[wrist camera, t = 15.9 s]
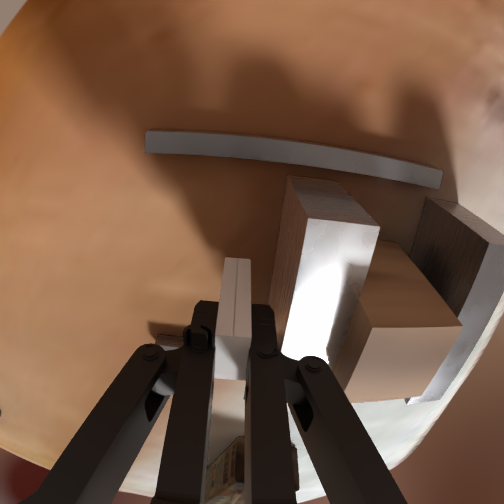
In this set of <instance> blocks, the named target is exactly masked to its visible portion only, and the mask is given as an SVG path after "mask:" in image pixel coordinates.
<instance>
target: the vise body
mask: <svg viewBox="0 0 504 504" xmlns="http://www.w3.org/2000/svg"><path fill="white" fill-rule="evenodd" d="M145 153H165V154H187V155H204V156H219V157H231V158H243V159H253V160H263V161H273V162H281V163H290V164H298V165H306V166H313V167H320V168H327V169H334V170H340V171H347V172H353V173H359V174H364V175H370V176H376V177H381V178H386V179H392V180H397V181H402V182H407V183H411V184H416V185H421V186H425V187H430V188H434V189H439V188H440V184H441V180H442V176H443V171H442V170H439V169H437V168H435V167H433V166H429V165H425V164H421V163H417V162H413V161H408V160H404V159H400V158H395V157H391V156H386V155H382V154H377V153H372V152H367V151H362V150H356V149H351V148H345V147H340V146H334V145H328V144H321V143H315V142H308V141H301V140H294V139H286V138H278V137H269V136H260V135H250V134H239V133H226V132H212V131H194V130H168V129H151V130H148V131H145ZM409 258H410V259H411V261H412V262H413V263H414V264H415V265H416V267H417V268H418V269H419V270H420V271H421V272H422V274H423V275H424V276H425V277H426V279H427V280H428V281H429V282H430V284H431V285H432V286H433V287H434V288H435V290H436V291H437V292H438V294H439V295H440V296H441V297H442V299H443V300H444V301H445V303H446V304H447V305H448V306H449V308H450V309H451V310H452V312H453V313H454V314H455V316H456V317H457V318H458V320H459V321H460V322H461V324H462V325H463V327H462V329H461V331H460V333H459V335H458V337H457V339H456V340H455V342H454V344H453V346H452V348H451V349H450V351H449V353H448V355H447V356H446V358H445V360H444V361H443V363H442V365H441V366H440V368H439V369H438V371H437V373H436V374H435V376H434V377H433V379H432V381H431V382H430V384H429V385H428V387H427V388H426V390H425V391H424V393H423V394H422V396H418V397H411V398H404V399H405V402H406V404H414V403H421V402H428V401H434V400H440V399H441V397H442V396H443V394H444V393H445V392H446V390H447V389H448V387H449V386H450V384H451V383H452V382H453V380H454V379H455V377H456V376H457V374H458V373H459V371H460V369H461V368H462V366H463V365H464V363H465V362H466V360H467V358H468V357H469V355H470V354H471V352H472V350H473V349H474V347H475V345H476V343H477V342H478V340H479V338H480V336H481V335H482V333H483V331H484V329H485V327H486V326H487V324H488V322H489V320H490V318H491V316H492V314H493V312H494V310H495V308H496V306H497V304H498V302H499V300H500V298H501V296H502V294H503V292H504V235H503V234H502V233H500V232H499V231H497V230H496V229H495V228H493V227H492V226H491V225H489V224H488V223H486V222H485V221H483V220H482V219H481V218H479V217H478V216H476V215H475V214H473V213H472V212H470V211H469V210H467V209H466V208H464V207H463V206H461V205H460V204H457V203H452V202H448V201H443V200H439V199H434V198H429V197H427V198H426V202H425V206H424V210H423V213H422V217H421V220H420V224H419V227H418V231H417V234H416V237H415V241H414V244H413V247H412V250H411V253H410V256H409ZM155 344H157V345H159V346H161V347H162V348H163V349H164V350H165V351H167V350H174V349H177V348H180V347H182V346H183V345H184V343H183V337H178V336H169V335H161V334H158V336H157V339H156V342H155Z"/></svg>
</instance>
